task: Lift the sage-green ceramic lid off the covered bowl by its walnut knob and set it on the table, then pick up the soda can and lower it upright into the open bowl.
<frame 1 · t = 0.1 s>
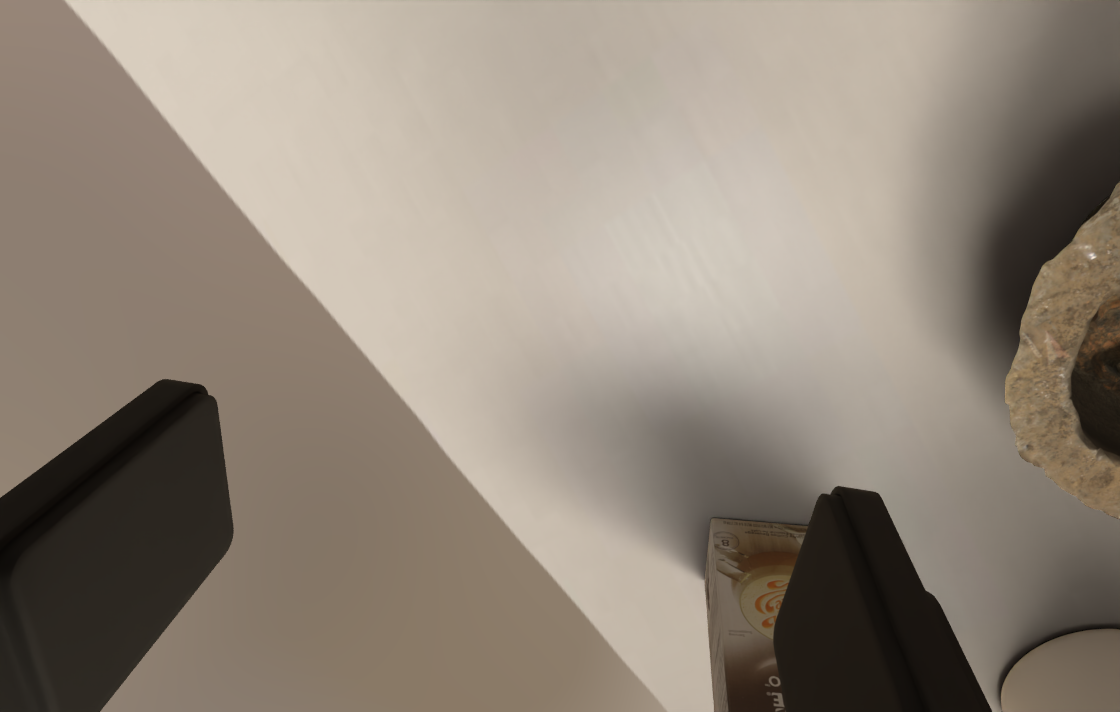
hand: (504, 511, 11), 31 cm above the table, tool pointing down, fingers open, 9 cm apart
coffee box: (769, 553, 50), on the table
cylinder vase: (1088, 683, 51), on the table
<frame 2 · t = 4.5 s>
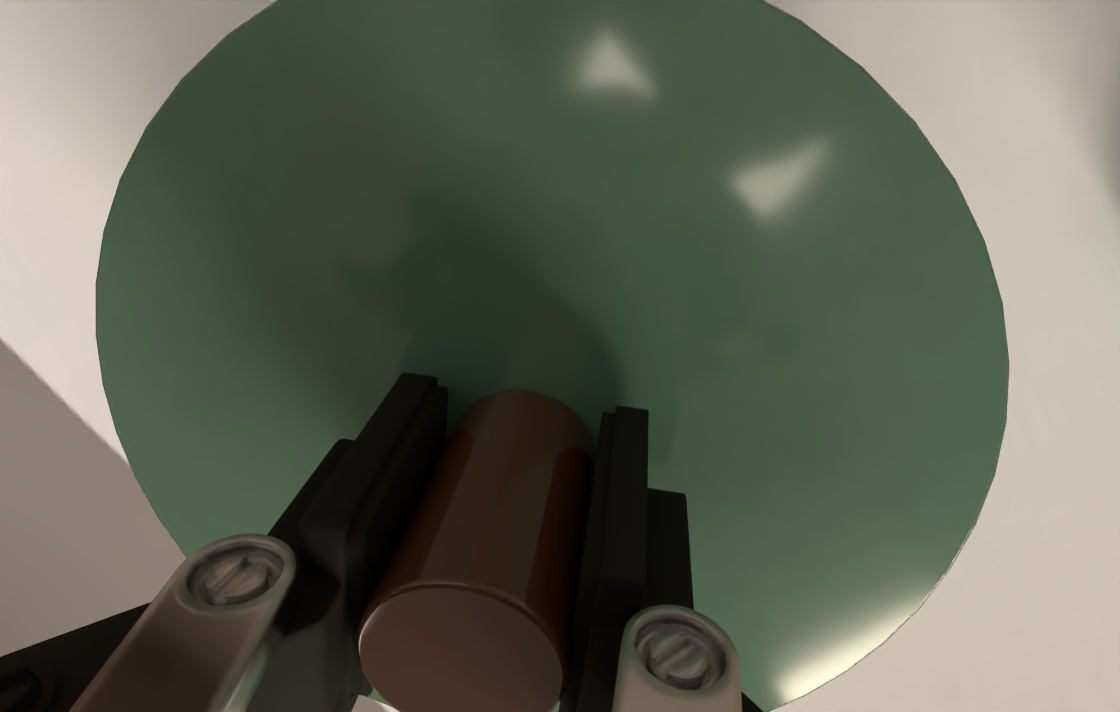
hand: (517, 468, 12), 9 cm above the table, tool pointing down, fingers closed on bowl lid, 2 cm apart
bowl lid: (527, 437, 13), point 9 cm above the table, touching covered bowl, gripper
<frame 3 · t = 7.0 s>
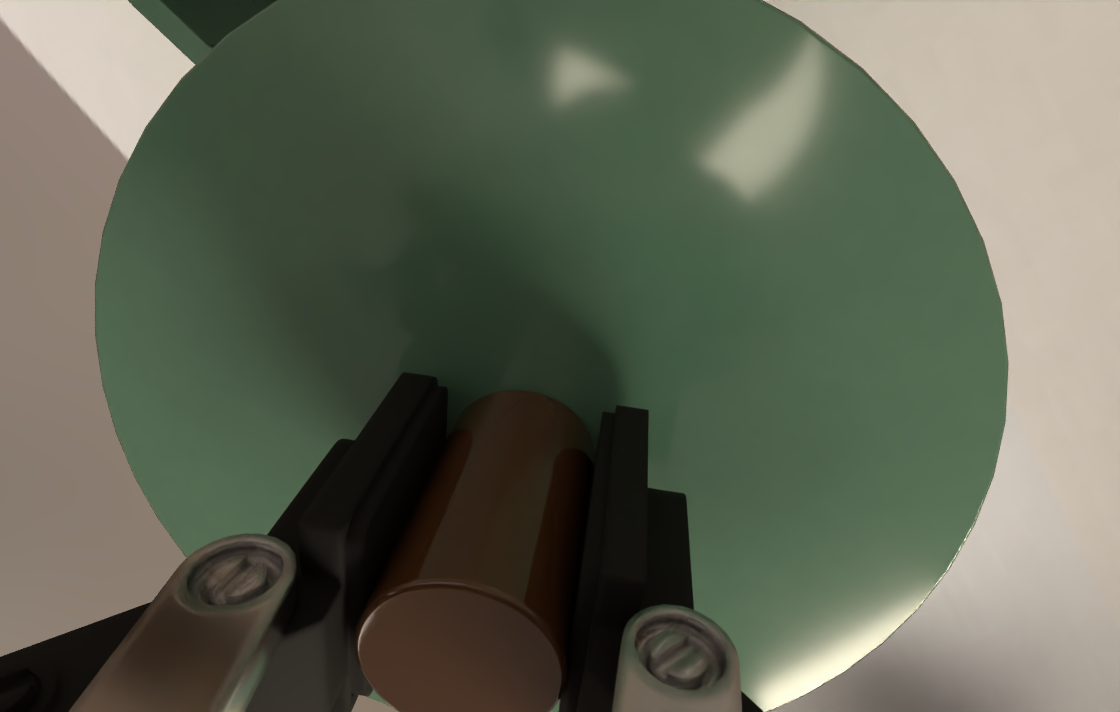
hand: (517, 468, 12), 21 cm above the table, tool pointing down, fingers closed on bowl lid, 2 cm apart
bowl lid: (526, 437, 13), point 20 cm above the table, touching gripper
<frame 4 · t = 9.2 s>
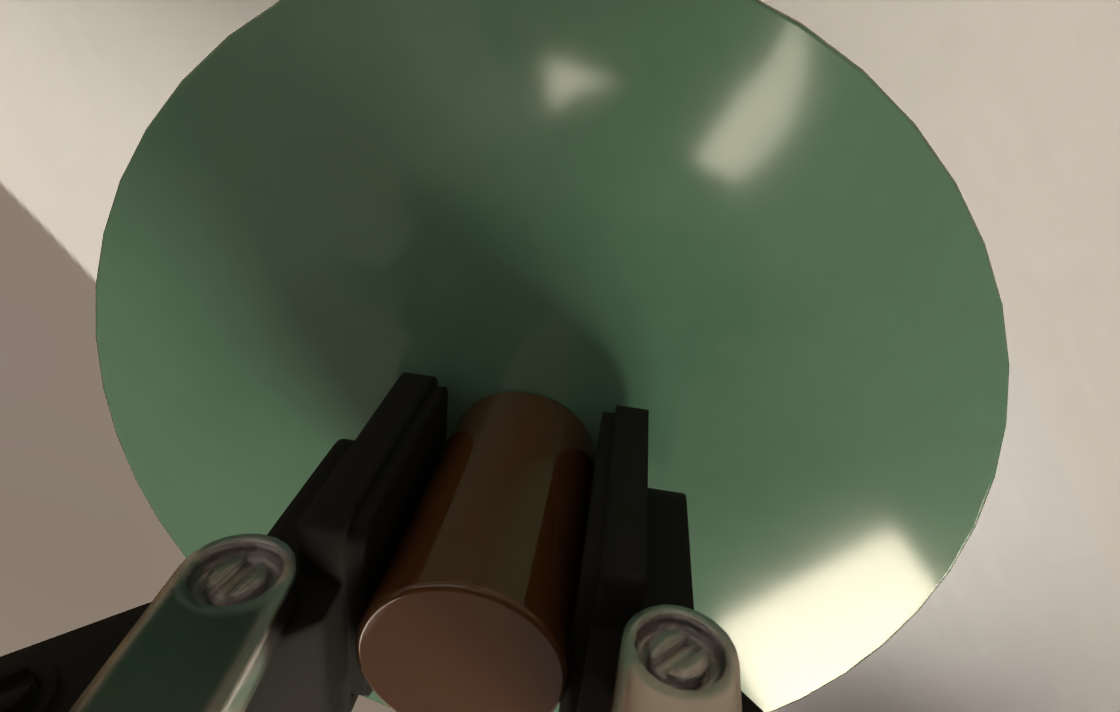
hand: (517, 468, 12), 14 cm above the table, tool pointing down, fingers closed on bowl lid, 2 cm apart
bowl lid: (527, 439, 13), point 13 cm above the table, touching gripper
when the fingers open (2 cm above the table, at t = 12.1 s): bowl lid stays where it is, point 1 cm above the table.
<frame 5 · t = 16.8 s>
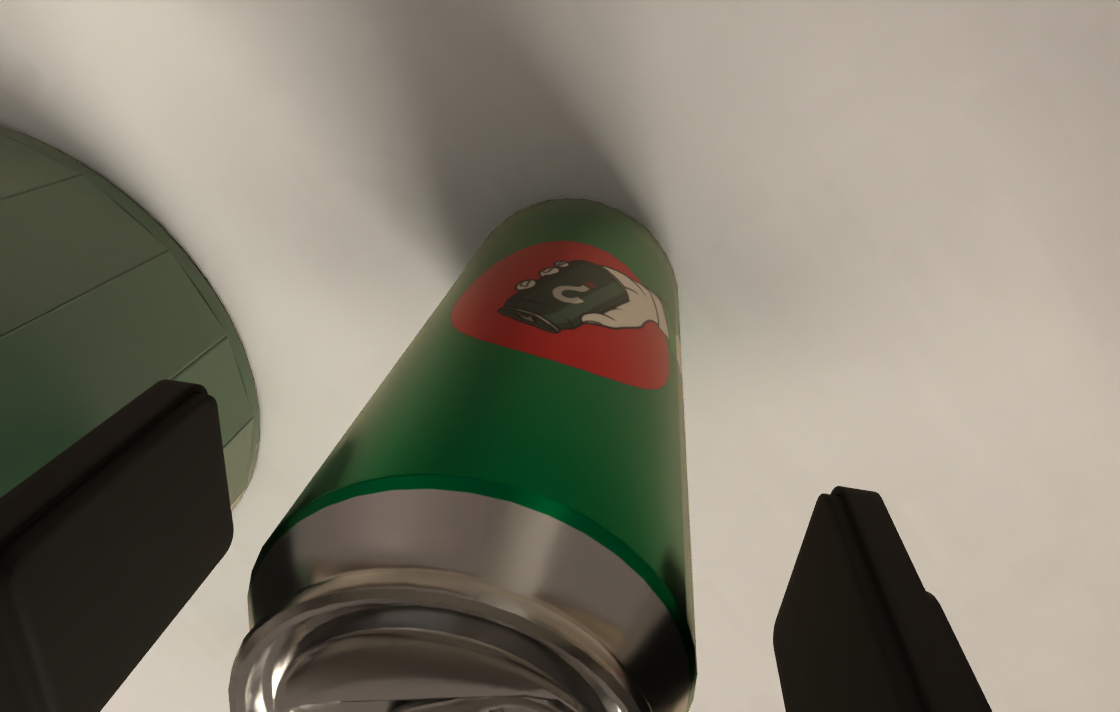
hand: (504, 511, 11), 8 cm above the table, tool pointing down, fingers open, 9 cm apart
soda can: (575, 289, 18), on the table
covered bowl: (24, 368, 21), on the table
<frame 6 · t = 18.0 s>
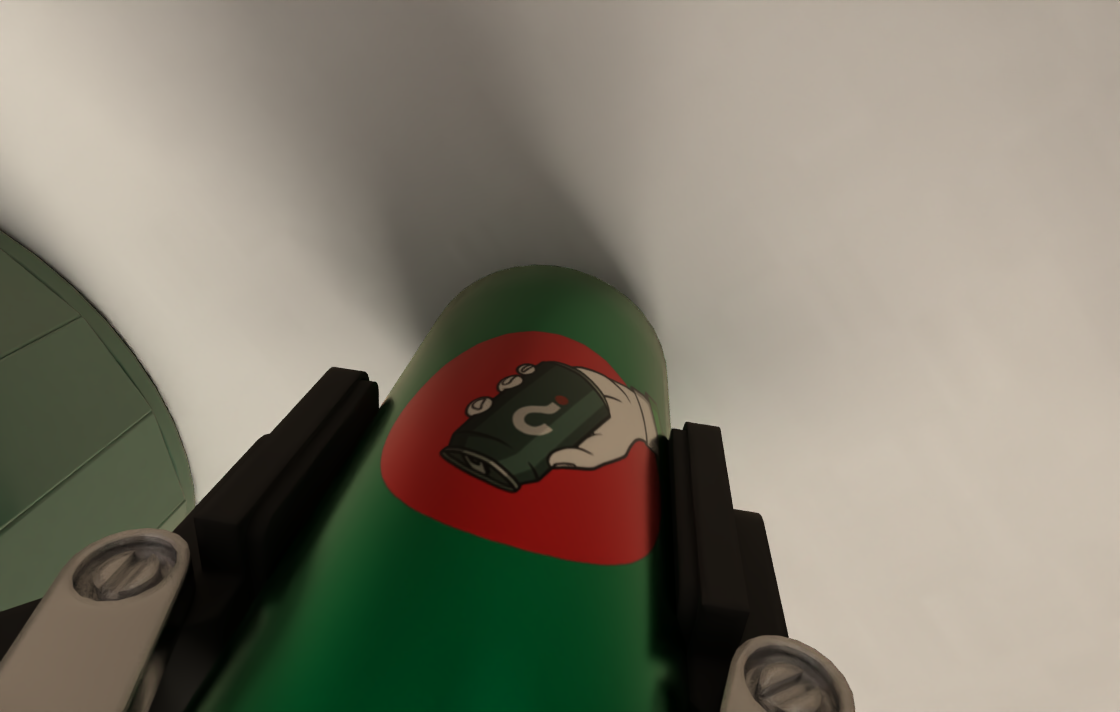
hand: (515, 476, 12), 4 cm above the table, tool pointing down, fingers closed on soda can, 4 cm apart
soda can: (549, 362, 15), on the table, touching gripper
when the fingers open (4 cm above the table, at t = 25.7 s): soda can stays where it is, resting on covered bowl.
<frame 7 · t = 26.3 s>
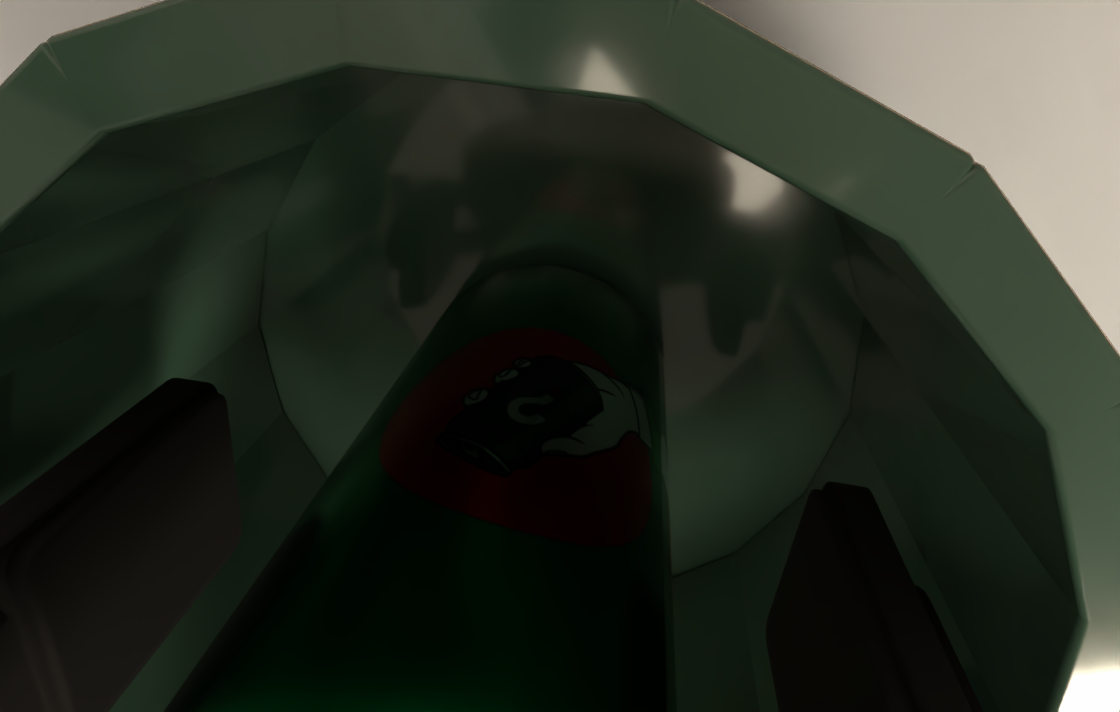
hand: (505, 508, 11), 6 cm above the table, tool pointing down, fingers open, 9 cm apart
soda can: (549, 361, 16), resting on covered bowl
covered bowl: (550, 356, 16), on the table
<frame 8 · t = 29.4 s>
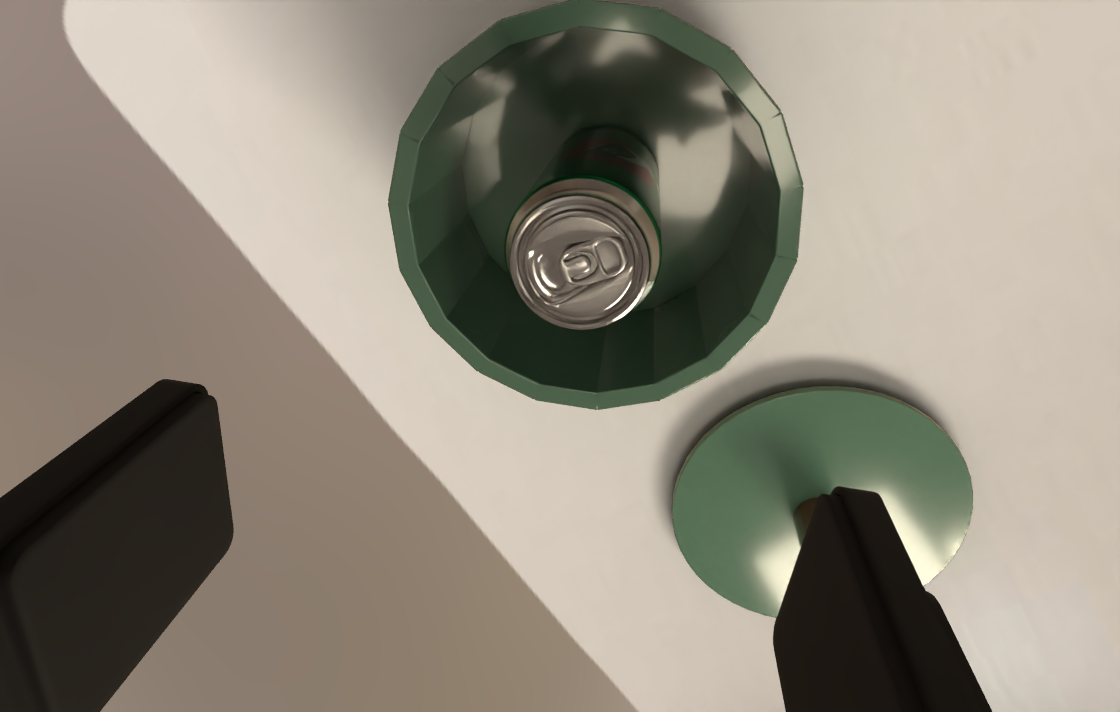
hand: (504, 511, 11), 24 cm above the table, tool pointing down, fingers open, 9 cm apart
soda can: (603, 181, 32), resting on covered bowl
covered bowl: (603, 180, 32), on the table
bowl lid: (815, 510, 38), point 1 cm above the table
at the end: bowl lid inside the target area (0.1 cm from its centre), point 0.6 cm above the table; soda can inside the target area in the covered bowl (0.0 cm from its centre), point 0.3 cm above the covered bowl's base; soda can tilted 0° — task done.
